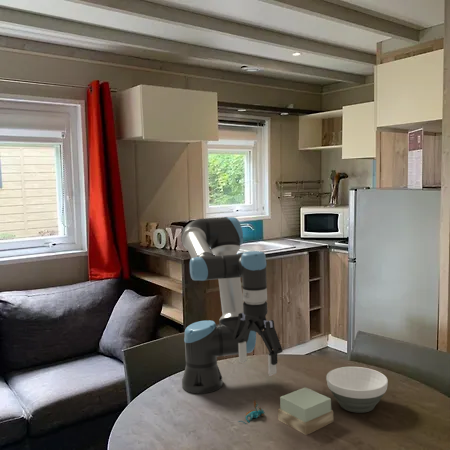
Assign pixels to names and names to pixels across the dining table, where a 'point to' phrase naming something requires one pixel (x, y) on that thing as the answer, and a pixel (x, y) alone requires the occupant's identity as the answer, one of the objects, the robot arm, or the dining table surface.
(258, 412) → the dragon figurine
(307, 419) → the tower top
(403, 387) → the dining table surface
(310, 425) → the tower base
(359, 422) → the dining table surface
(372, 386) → the bowl
